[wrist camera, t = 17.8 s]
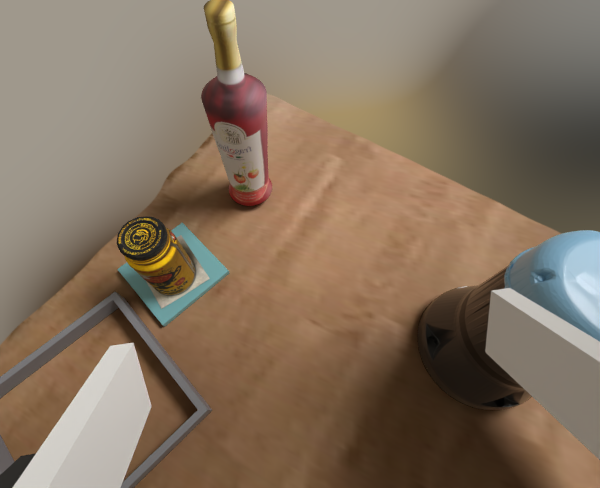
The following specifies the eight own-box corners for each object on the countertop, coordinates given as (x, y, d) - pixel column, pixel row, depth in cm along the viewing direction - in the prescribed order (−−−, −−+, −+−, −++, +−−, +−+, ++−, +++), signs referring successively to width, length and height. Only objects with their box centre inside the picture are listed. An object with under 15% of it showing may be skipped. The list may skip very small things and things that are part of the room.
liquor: (278, 179, 57) (269, -9, 32) (267, 215, 53) (246, 38, 28) (236, 170, 57) (194, -21, 32) (222, 206, 54) (163, 24, 29)
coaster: (183, 225, 52) (182, 222, 51) (229, 273, 49) (228, 270, 48) (119, 271, 48) (117, 269, 48) (164, 326, 45) (162, 325, 44)
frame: (123, 297, 47) (115, 291, 44) (212, 410, 41) (207, 409, 38) (-24, 408, 40) (-42, 408, 38) (56, 563, 34) (40, 573, 32)
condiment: (162, 309, 45) (122, 275, 35) (135, 262, 48) (91, 218, 38) (210, 279, 47) (187, 239, 37) (181, 235, 50) (152, 187, 40)
